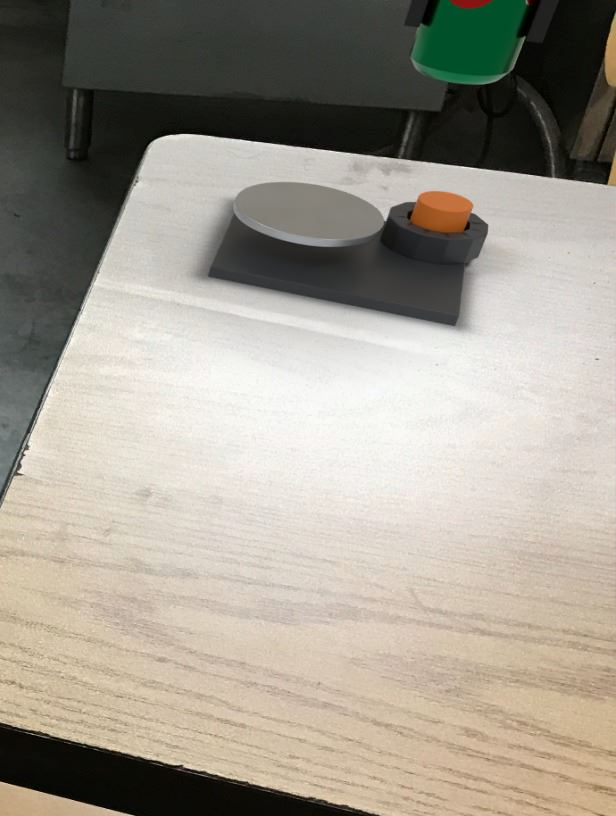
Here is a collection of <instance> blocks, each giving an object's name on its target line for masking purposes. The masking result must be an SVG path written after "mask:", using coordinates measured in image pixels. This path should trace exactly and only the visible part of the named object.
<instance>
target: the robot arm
mask: <svg viewBox="0 0 616 816" xmlns="http://www.w3.org/2000/svg"><path fill="white" fill-rule="evenodd" d="M559 2H560V0H539V2H538V5H537V8H536V10H535V13H534V15H533V18H532V21H531V23H530V26H529V28H528V31H527V34H526V37H525V42H529V43H536V44H537V43H538V44H543V42H544V39H545V37H546V34H547V32H548V30H549V27H550V24H551V22H552V20H553V19H552V18H553V17H554V14H555V11H556V9H557V6H558V4H559ZM427 3H428V0H409V4H408V7H407V9H406V14H405V18H404V23H403V26H405V27H413V28H418V27H420V24H421V21H422V18H423V15H424V12H425V9H426V6H427Z"/></svg>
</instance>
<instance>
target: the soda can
mask: <svg viewBox="0 0 616 816" xmlns="http://www.w3.org/2000/svg"><path fill="white" fill-rule="evenodd" d="M538 2H539V0H428V3H427V6H426V9H425V12H424V15H423V18H422V21H421V24H420V27H416V28H417V29H416V32H415V34H414V37H413V40H412V44H411V47H410V50H409V55H408V56H409V57H410V60H411V63H412V65H413V67H414V69H415V70H416V71H417V72H419V73H420V74H422V75H424V76H426V77H428V78H431V79H434V80H437V81H442V82H446V83H452V84H458V85H472V86H474V85H475V86H476V85H477V86H478V85H486V84H492V83H495V82H498V81H500V80H501V79H502V78H504V77H505V76H507V74H509V73H511V72H512V71H513V69H514V68H515V65H516V63H517V60H518V57H519V55H520V52H521V50H522V47H523V44H524V42H525V40H526V34H527V31H528V28H529V26H530V23H531V21H532V18H533V15H534V13H535V10H536V8H537V5H538Z"/></svg>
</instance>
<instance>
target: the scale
mask: <svg viewBox="0 0 616 816" xmlns="http://www.w3.org/2000/svg"><path fill="white" fill-rule="evenodd" d="M416 202H417V201H405V202H402V203H399V204H397V205H393V206H391V207H390V209H389V210H388V211H389V212H388V214H387V217H386V219H385V220H384V226H383V228H382V231H381V233H380V235H379V236H378V237H377V238H375V239H374V240H372V241H370V242H368V243H365V244H362V245H357V246H350V247H316V246H307V245H301V244H295V243H291V242H287V241H283V240H279V239H276V238H273V237H270V236H267V235H265V234H262V233H260V232H258V231H256V230H254V229H252V228H250V227H248V226H247V225H246V224H244V223H243V222H242V221H241V220H240V219H238V217H237V216H236V215H235V212H233V215H232V217H231V220H230V222H229V224H228V226H227V229H226V230H225V232H224V235H223V238H222V240H221V241H220V244H219V246H218V249H217V250H216V253H215V255H214V257H213V260H212V262H211V264H210V267H209V270H208V274H207V277H209V278H213V279H218V280H222V281H227V282H233V283H237V284H241V285H248V286H253V287H257V288H262V289H268V290H272V291H277V292H282V293H287V294H292V295H296V296H303V297H306V298H311V299H317V300H322V301H327V302H332V303H336V304H342V305H346V306H352V307H357V308H361V309H366V310H373V311H377V312H383V313H387V314H390V315H391V314H392V315H395V316H396V315H398V316H400V317H401V316H402V317H406V318H412V319H416V320H422V321H426V322H431V323H437V324H442V325H446V326H450V327H451V326H452V327H456V325H457V322H458V320H459V317H460V310H461V303H462V294H463V285H464V278H465V277H464V276H465V268H466V263H468V262H471V261H473V260H476V259H478V258H479V256H480V254H481V251H482V250H483V249H482V248H483V246H484V244H485V242H486V239H487V237H488V235H489V224H488V223H487V222H486V221H485V220H483V219H482V218H481V217H480V216H479V215H477V214H476V213H473V212H471V214H470V217H469V219H468V222H467V224H466V227H465V229H464V231H463V232H451V233H445V232H440V231H434V230H428V229H426V228H423V227H421V226H418V225H415V224H413V223H412V222H411V221H410V218H411V215H412V213H413V210H414V207H415V205H416Z"/></svg>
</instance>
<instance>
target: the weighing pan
mask: <svg viewBox="0 0 616 816" xmlns="http://www.w3.org/2000/svg"><path fill="white" fill-rule="evenodd" d="M232 207H233V213H235V215H236V216H237V217H238V219H240V220H241V221H242V222H243V223H244V224H246V225H247V226H248V227H250V228H252V229H254V230H256V231H258V232H260V233H262V234H265V235H267V236H270V237H273V238H276V239H279V240H283V241H287V242H291V243H295V244H301V245H307V246H316V247H350V246H357V245H362V244H365V243H368V242H370V241H372V240H374V239H375V238H377V237H378V236H379V235H380V233H381V231H382V228H383V226H384V221H385V218H384V215H383V213H382V212H381V211H380V210H379V209H378V208H377V207H375V205H374V204H372V203H370V202H369V201H367V200H365V199H364V198H361V197H359V196H357V195H355V194H353V193H350V192H346V191H344V190H340V189H337V188H333V187H329V186H325V185H320V184H313V183H307V182H297V181H271V182H263V183H258V184H254V185H253V184H252V185H251V186H248V187H245V188H244V189H242V190H240V191H239V192H238V193H237V194H236V196H235V200H234V203H233V206H232Z"/></svg>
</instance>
